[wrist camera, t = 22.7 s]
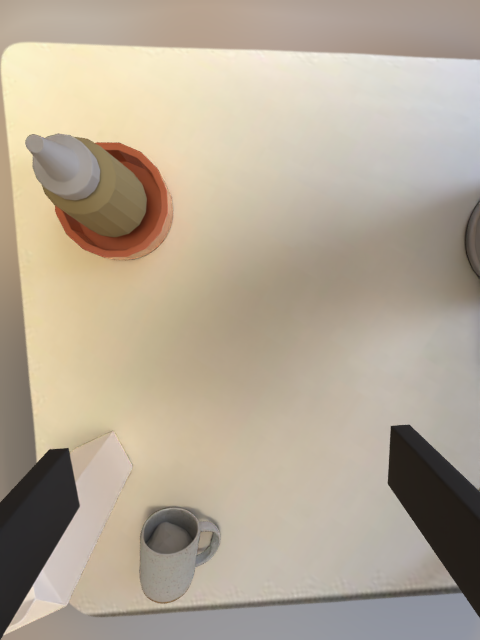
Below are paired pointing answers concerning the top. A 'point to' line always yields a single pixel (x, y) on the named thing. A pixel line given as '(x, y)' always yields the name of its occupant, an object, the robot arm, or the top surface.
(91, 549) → the milk
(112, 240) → the holder
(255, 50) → the top surface
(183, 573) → the ceramic mug
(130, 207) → the squeeze bottle
